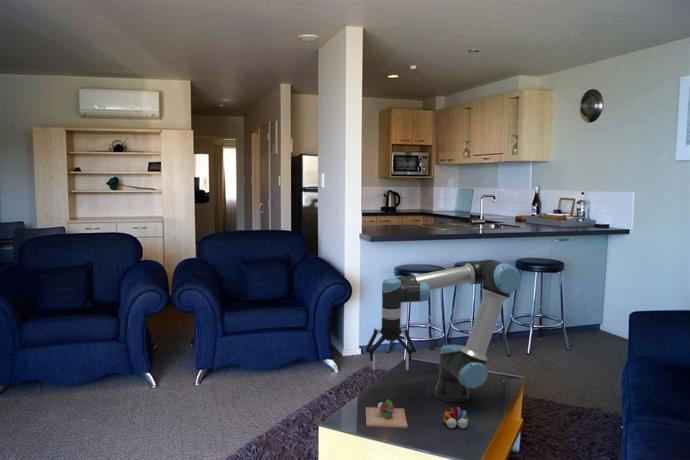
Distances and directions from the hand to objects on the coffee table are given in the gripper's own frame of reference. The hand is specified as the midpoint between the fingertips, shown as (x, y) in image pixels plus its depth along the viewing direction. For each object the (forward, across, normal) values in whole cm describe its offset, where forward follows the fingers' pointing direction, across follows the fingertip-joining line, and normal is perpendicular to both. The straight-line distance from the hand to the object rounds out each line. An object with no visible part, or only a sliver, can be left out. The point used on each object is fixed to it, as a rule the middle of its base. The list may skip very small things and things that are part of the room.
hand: (390, 368), depth 216 cm
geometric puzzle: (+19, +1, +3) cm, 19 cm away
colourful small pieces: (+21, -26, +7) cm, 34 cm away
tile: (+20, +2, +3) cm, 20 cm away
